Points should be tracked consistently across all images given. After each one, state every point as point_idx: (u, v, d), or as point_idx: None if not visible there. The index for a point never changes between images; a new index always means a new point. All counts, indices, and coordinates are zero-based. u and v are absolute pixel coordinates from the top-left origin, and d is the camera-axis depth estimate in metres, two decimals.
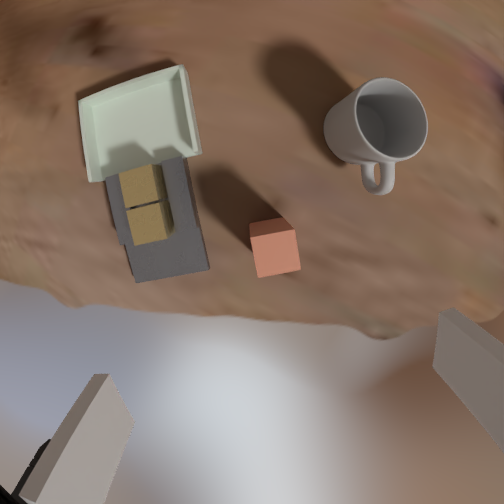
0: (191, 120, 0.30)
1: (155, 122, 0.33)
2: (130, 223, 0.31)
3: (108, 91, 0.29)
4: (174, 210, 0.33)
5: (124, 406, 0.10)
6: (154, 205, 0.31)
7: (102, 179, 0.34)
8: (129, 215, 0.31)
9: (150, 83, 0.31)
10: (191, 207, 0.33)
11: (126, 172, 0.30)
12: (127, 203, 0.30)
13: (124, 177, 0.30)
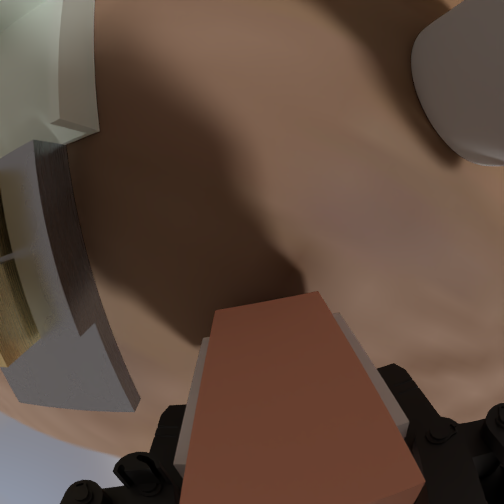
0: (57, 42, 0.07)
1: (17, 78, 0.10)
2: None
3: None
4: (28, 286, 0.10)
5: None
6: None
7: None
8: None
9: (21, 4, 0.08)
10: (58, 282, 0.10)
11: None
12: None
13: None
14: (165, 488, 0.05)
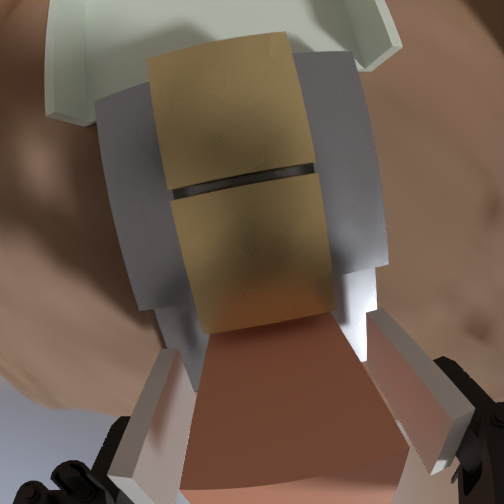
0: None
1: None
2: (188, 252, 0.08)
3: None
4: (331, 207, 0.10)
5: (188, 380, 0.12)
6: (298, 183, 0.08)
7: (88, 118, 0.11)
8: (184, 220, 0.08)
9: None
10: (380, 202, 0.10)
11: (180, 54, 0.07)
12: (177, 170, 0.08)
13: (170, 70, 0.07)
14: (98, 494, 0.04)
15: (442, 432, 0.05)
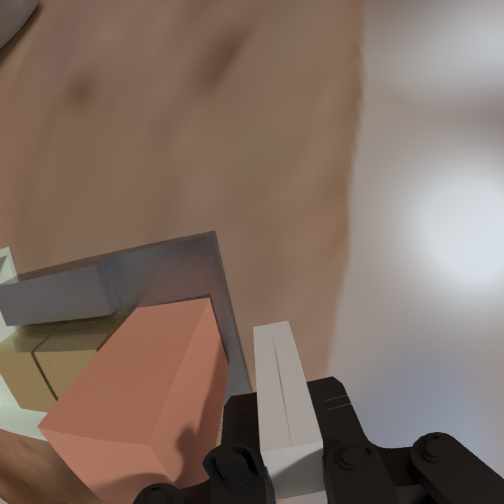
0: None
1: None
2: None
3: None
4: (68, 312, 0.13)
5: None
6: (41, 362, 0.11)
7: None
8: None
9: None
10: (57, 275, 0.12)
11: (14, 395, 0.11)
12: None
13: (21, 401, 0.12)
14: (256, 481, 0.05)
15: None
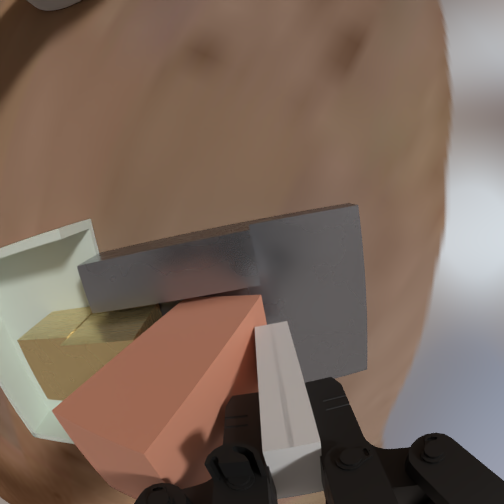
0: (11, 246, 0.11)
1: None
2: None
3: (8, 393, 0.14)
4: (201, 287, 0.13)
5: None
6: (67, 356, 0.11)
7: None
8: None
9: None
10: (193, 243, 0.13)
11: (42, 386, 0.12)
12: None
13: (50, 391, 0.12)
14: (258, 481, 0.05)
15: None
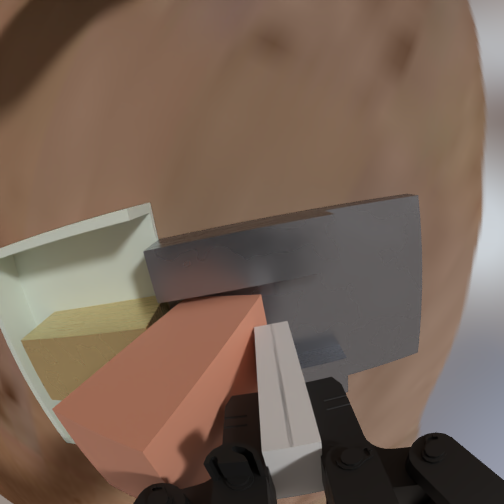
0: (60, 230, 0.11)
1: None
2: None
3: (40, 396, 0.14)
4: (284, 271, 0.13)
5: None
6: (79, 346, 0.12)
7: None
8: None
9: (22, 317, 0.14)
10: (279, 226, 0.13)
11: (46, 386, 0.12)
12: None
13: (54, 391, 0.12)
14: (257, 481, 0.05)
15: None
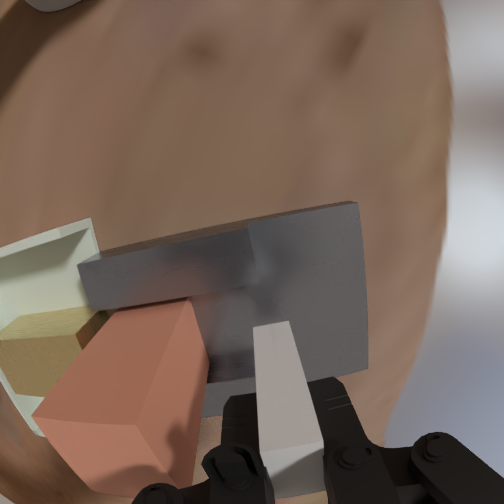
0: (11, 245, 0.12)
1: None
2: None
3: (10, 391, 0.14)
4: (200, 285, 0.13)
5: None
6: (29, 347, 0.12)
7: None
8: None
9: None
10: (191, 241, 0.13)
11: (9, 381, 0.13)
12: (46, 393, 0.13)
13: (16, 386, 0.13)
14: (255, 481, 0.05)
15: None
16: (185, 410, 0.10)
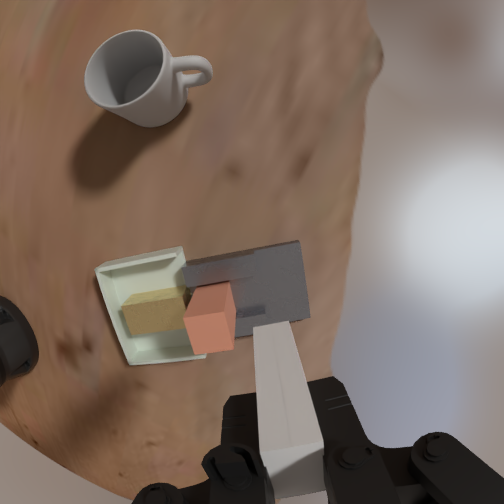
0: (146, 259, 0.33)
1: None
2: (170, 328, 0.34)
3: (121, 337, 0.35)
4: (235, 275, 0.34)
5: None
6: (152, 305, 0.33)
7: None
8: (163, 329, 0.34)
9: (114, 297, 0.36)
10: (232, 258, 0.34)
11: (129, 328, 0.34)
12: (155, 329, 0.34)
13: (134, 330, 0.34)
14: (255, 481, 0.05)
15: None
16: (231, 319, 0.31)
